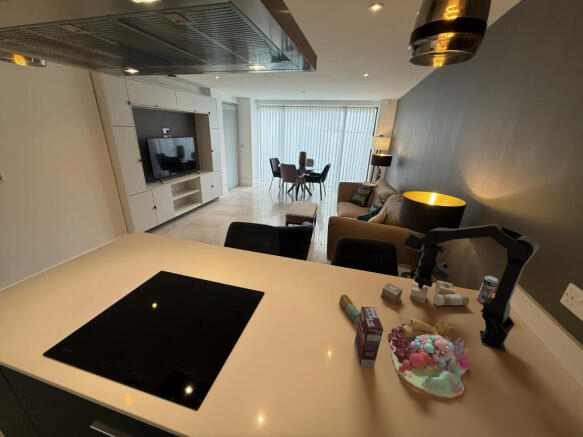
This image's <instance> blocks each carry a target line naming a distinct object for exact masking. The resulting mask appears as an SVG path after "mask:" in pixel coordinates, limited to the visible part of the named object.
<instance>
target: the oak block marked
mask: <svg viewBox="0 0 583 437" xmlns="http://www.w3.org/2000/svg"><path fill="white" fill-rule="evenodd" d="M434 292H435V294H441V295H446V294H456V289H455V287H454V284H453V283H450V282H447V281H443V280H437V281H436V284H435V287H434Z"/></svg>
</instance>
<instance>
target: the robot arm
mask: <svg viewBox="0 0 583 437" xmlns="http://www.w3.org/2000/svg"><path fill="white" fill-rule="evenodd" d="M476 238H478V239H479V238H491V239H493V240H494V241H495V242H496V243H497V244H498V245H500V247H502V248H505V249H506V261H507V262H506V264H505V269H504V271H503V273H502V276H501V278H500V281H499V283H498V285H497V287H496V290H495V291H496V292H495V294H494V297H493V296H492V297H489V298H488V299H487V300H486V301H485V302H484V303H483V305H482V306H483V307H482V309H481V310H480V313H481V318H482V319H483V321H484V323H485V328H484V330H479V335H480V341H481V344H484V345H486V346H489V347H491V348H494V349H496V350H498V351H501V352H503V353H505V352H506V348H505V342H506V340H507V338H508V336H509V334H510V332H511V330H512V329H513V328H514V326H515V323H514V321H513V320H512V317H510V315H511V314H510V313H511V300H512V297H513V295H514V292H515V290H516V287H517V286H518V283H519V280H520V278H521V276H522V273H523V271H524V269H525V267H526V265H527V264H528V263H529V261H530V260H531V259H532V258H533V257H534V256H535V254H536V252H537V251H538V250H539V249H540V242H538V240H537V239H536V238H534V237H532V236H529V235H523V234H522V233H520V232H518V231H515V230H513V229H510V228H507V227H505V226H503V225H502V224H499V223H491V224H483V225H476V226H469V227H461V228H448V227H436V228H433V229H430V230H428V231H427V232H426V233H425V236H423V237H422V236H420V235H417V234H416V233H413V232H411V233H409V235H408V237H407V238H406V240H404V247H406V248H408V249H410V250H412V251H414V252H417V253H419V252H422V253H421V255H420V256H421V257H420V258H419V260H418V263H417V265H418V267H417V268H416V273H415V277H414V281H413V282H415V283H418V287H419V288H422V287H423V286H427V287H428V288H432V287H433V284H434V278H433V276H435V275H436V276H438V277H439V278H440V279H442V281H443V280H444V281H446V280H447V279H448V278H449V277H450V276H452V275H451V270H450V268H449V264H448V263H446V262H442V263H438V259H439V256H440V253H442V254H443V253H446V252H447V251H448V249H447V248H446V247H445V245H444V243H447V242H450V241H454V240H455V241H456V240H466V239H476ZM442 243H443V244H442ZM440 244H441V245H440Z"/></svg>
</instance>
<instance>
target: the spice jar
mask: <svg viewBox="0 0 583 437" xmlns="http://www.w3.org/2000/svg"><path fill="white" fill-rule="evenodd" d="M499 283H500V281H499V280H498V278H497V277H496V276H492V275H486V276H485V277H484V278H483V281H482V284H481V286H480V289H479V290H478V293H477V295H476V297H475V298H476V299H477V301H479V302H480V303H483V304H484V302H485V301H486V300H487V299H488V298H489V297H492V298H493V295H494V293H495V291H496V290H497V288H498V285H499Z"/></svg>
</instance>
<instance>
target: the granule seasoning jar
mask: <svg viewBox="0 0 583 437" xmlns="http://www.w3.org/2000/svg"><path fill="white" fill-rule="evenodd" d="M432 299H433V300H432V301H433V303H434V304H435V305H436V306H440V307H441V306H467V305H469V303H470V299H469V297H468V295H467V294H458V293H457V294H456V293H455V294H446V295H441V294H436V293H435V294H434V295H433V297H432Z"/></svg>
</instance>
